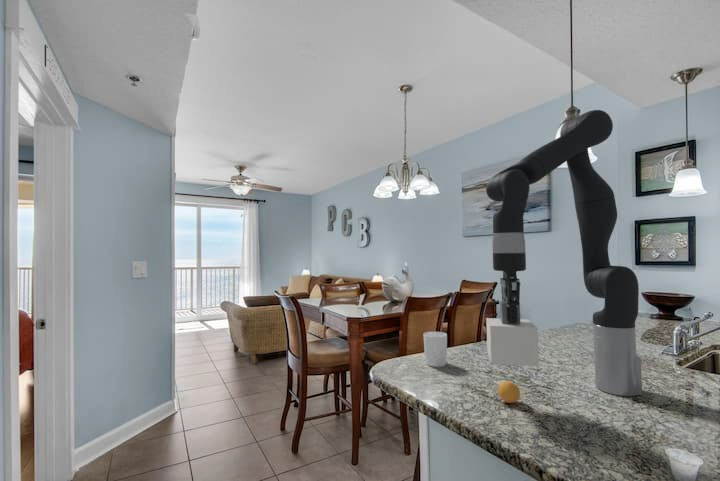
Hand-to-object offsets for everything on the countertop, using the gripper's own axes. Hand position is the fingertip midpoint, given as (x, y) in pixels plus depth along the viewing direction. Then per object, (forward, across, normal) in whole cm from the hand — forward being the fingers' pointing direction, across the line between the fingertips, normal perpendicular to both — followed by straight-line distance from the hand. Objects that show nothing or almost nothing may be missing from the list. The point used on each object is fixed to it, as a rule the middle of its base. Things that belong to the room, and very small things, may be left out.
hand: (510, 320), depth 85 cm
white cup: (+21, +28, +20) cm, 40 cm away
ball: (+18, +1, +1) cm, 18 cm away
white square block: (+9, 0, 0) cm, 9 cm away
